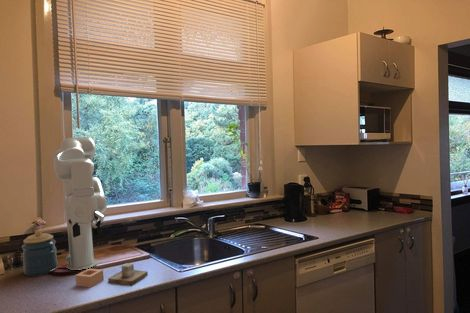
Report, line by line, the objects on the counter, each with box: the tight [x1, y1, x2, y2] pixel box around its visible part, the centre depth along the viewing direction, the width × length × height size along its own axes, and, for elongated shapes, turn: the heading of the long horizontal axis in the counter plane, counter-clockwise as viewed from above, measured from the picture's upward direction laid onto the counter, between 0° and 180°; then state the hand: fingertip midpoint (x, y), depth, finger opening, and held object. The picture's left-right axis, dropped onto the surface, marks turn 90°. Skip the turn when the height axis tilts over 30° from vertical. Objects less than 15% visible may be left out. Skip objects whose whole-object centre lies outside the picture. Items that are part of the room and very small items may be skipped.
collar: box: [75, 268, 105, 288], centre depth 141 cm, size 7×7×4 cm
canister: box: [21, 230, 59, 277], centre depth 157 cm, size 13×13×18 cm
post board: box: [107, 262, 149, 286], centre depth 144 cm, size 11×10×6 cm
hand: (86, 236), depth 140 cm, fingers open, 9 cm apart
